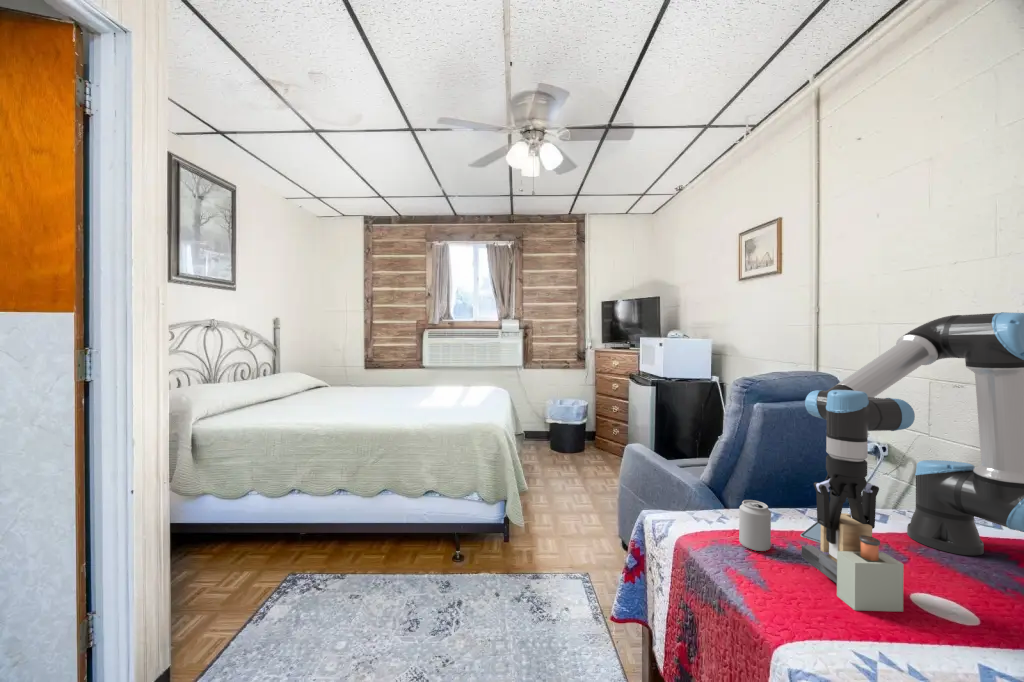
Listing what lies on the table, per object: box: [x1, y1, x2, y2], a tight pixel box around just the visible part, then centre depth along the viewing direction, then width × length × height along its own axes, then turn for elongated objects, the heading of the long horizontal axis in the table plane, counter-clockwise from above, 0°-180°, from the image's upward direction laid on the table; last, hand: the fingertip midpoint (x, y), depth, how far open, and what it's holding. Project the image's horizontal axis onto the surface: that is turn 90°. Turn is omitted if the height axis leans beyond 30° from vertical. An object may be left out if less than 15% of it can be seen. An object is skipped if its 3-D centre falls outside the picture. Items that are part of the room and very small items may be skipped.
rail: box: [801, 545, 837, 585], centre depth 101 cm, size 3×17×3 cm, turn 179°
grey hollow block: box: [836, 551, 905, 613], centre depth 90 cm, size 10×5×10 cm, turn 89°
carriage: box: [819, 512, 873, 584], centre depth 97 cm, size 7×7×14 cm
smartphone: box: [800, 521, 821, 544], centre depth 123 cm, size 7×1×15 cm
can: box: [738, 499, 772, 552], centre depth 115 cm, size 8×8×12 cm
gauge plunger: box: [859, 535, 881, 561], centre depth 90 cm, size 3×3×4 cm
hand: (845, 556), depth 97 cm, fingers closed on carriage, 4 cm apart
